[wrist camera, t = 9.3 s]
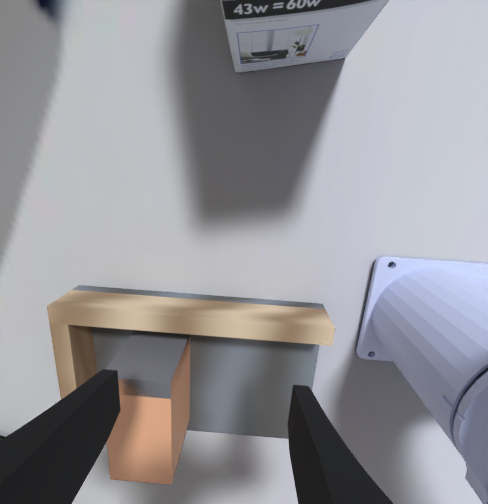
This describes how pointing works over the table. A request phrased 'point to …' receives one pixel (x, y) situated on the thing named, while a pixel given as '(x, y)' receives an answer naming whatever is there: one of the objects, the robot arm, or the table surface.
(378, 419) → the table surface
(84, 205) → the table surface
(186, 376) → the terracotta bar
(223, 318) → the corner arena
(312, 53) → the light bulb box
